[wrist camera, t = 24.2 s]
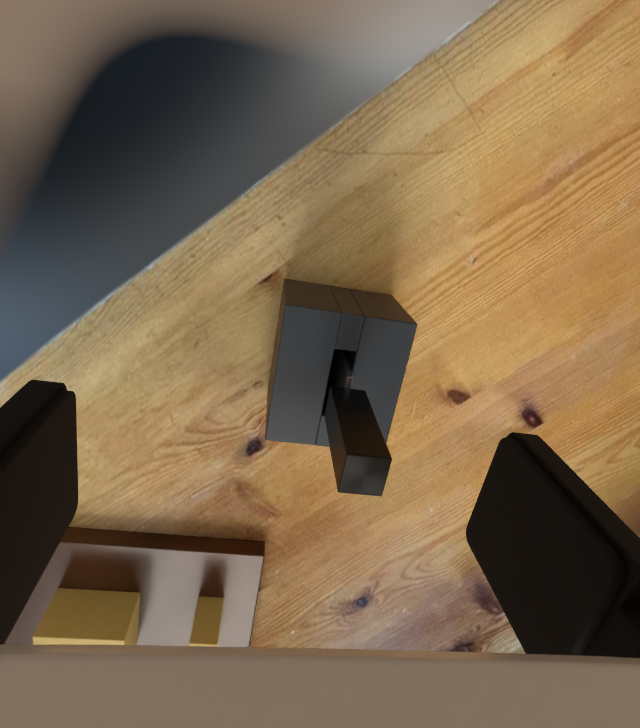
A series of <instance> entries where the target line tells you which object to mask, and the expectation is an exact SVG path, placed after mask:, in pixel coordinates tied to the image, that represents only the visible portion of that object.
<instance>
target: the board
mask: <svg viewBox="0 0 640 728" xmlns="http://www.w3.org/2000/svg"><path fill="white" fill-rule="evenodd" d="M264 553H265V542H258V541H245V540H231V539H218V538H204V537H191V536H178V535H164V534H151V533H137V532H124V531H111V530H97V529H84V528H70V527H68V528H67V530H66V532H65V534H64V536H63V538H62V539H61V541H60V543H59V545H58V547H57V549H56V550H55V552H54V554H53V556H52V558H51V560H50V561H49V563H48V565H47V567H46V569H45V571H44V572H43V574H42V576H41V578H40V580H39V582H38V583H37V585H36V587H35V589H34V591H33V593H32V594H31V596H30V598H29V600H28V602H27V604H26V605H25V607H24V609H23V611H22V613H21V615H20V616H19V618H18V620H17V622H16V624H15V626H14V627H13V629H12V631H11V633H10V635H9V637H8V638H7V640H6V642H5V644H4V645H33V635H34V633H35V631H36V629H37V627H38V625H39V623H40V622H41V620H42V618H43V616H44V614H45V612H46V610H47V608H48V606H49V604H50V603H51V601H52V599H53V597H54V595H55V593H56V591H57V589H58V588H67V589H85V590H102V591H120V592H137V593H140V612H139V638H138V641H137V644H136V645H157V646H189V642H190V637H191V632H192V626H193V621H194V616H195V611H196V605H197V600H198V597H199V596H206V597H223V598H224V602H223V609H222V617H221V625H220V632H219V640H218V647H249V645H250V639H251V633H252V627H253V621H254V615H255V609H256V603H257V597H258V591H259V585H260V579H261V573H262V567H263V561H264Z"/></svg>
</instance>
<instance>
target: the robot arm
mask: <svg viewBox="0 0 640 728" xmlns="http://www.w3.org/2000/svg"><path fill="white" fill-rule="evenodd" d="M77 505H78V469H77V427H76V396H75V393H74V392H73V391H67V389H66V386H65V384H64V383H57V382H48V381H39V380H31V381H29V382H28V383H27V384H26V385H24V386H23V387H22V388H21V389H20V390H19V391H18V392H17V393H16V394H15V395H14V396H13V397H11V398H10V399H9V400H8V401H7V402H6V403H5V404H4V405H3V406H2V407H1V408H0V728H640V538H639V537H638V536H637V535H636V534H635V533H634V532H633V531H632V530H631V529H630V528H629V527H628V526H627V525H626V524H625V523H624V522H623V521H622V520H621V519H620V518H619V517H618V516H617V515H616V514H615V513H614V512H613V511H612V510H611V509H610V508H609V507H608V506H607V505H606V504H605V503H604V502H603V501H602V500H601V499H600V498H599V497H598V496H597V495H596V494H595V493H594V492H593V491H592V490H591V489H590V488H589V487H588V485H587V484H586V483H585V482H584V481H583V480H582V479H581V478H580V477H579V476H578V475H577V474H576V473H575V472H574V471H573V470H572V469H571V468H570V467H569V466H568V465H567V464H566V463H565V462H564V461H563V460H562V459H561V458H560V457H559V456H558V455H557V454H556V453H555V452H554V451H553V450H552V449H551V448H550V447H549V446H548V445H547V444H546V443H545V442H544V441H543V440H542V439H541V438H540V437H539V436H537V435H532V434H523V433H514V432H513V433H510V434H509V435H508V436H507V437H506V438H502V439H501V440H500V442H499V444H498V447H497V449H496V452H495V455H494V457H493V460H492V463H491V465H490V468H489V470H488V473H487V476H486V478H485V481H484V483H483V486H482V489H481V491H480V494H479V496H478V499H477V502H476V504H475V507H474V509H473V512H472V515H471V517H470V520H469V522H468V525H467V529H466V537H467V541H468V544H469V546H470V548H471V550H472V552H473V553H474V555H475V557H476V559H477V561H478V563H479V565H480V567H481V569H482V571H483V573H484V575H485V576H486V578H487V580H488V582H489V584H490V586H491V588H492V590H493V592H494V594H495V596H496V597H497V599H498V601H499V603H500V605H501V607H502V609H503V611H504V613H505V615H506V617H507V618H508V620H509V622H510V624H511V626H512V628H513V630H514V632H515V634H516V636H517V638H518V640H519V641H520V643H521V645H522V647H523V649H524V651H525V653H526V654H512V653H479V652H442V651H402V650H360V649H316V648H270V647H214V646H157V645H4V644H5V642H6V640H7V638H8V637H9V635H10V633H11V631H12V629H13V627H14V626H15V624H16V622H17V620H18V618H19V616H20V615H21V613H22V611H23V609H24V607H25V605H26V604H27V602H28V600H29V598H30V596H31V594H32V593H33V591H34V589H35V587H36V585H37V583H38V582H39V580H40V578H41V576H42V574H43V572H44V571H45V569H46V567H47V565H48V563H49V561H50V560H51V558H52V556H53V554H54V552H55V550H56V549H57V547H58V545H59V543H60V541H61V539H62V538H63V536H64V534H65V532H66V530H67V528H68V527H69V525H70V523H71V521H72V519H73V517H74V515H75V512H76V509H77Z"/></svg>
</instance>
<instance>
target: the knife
mask: <svg viewBox="0 0 640 728" xmlns="http://www.w3.org/2000/svg"><path fill="white" fill-rule="evenodd" d="M352 381H353V376H352V373H351V370H350V367H349V364H348V362H347V359H346V356H345V353H344V350H342V349H335V348H334V353H333V358H332V363H331V368H330V373H329V378H328V383H327V388H328V393H329V396H328V401H327V406H326V411H325V416H324V418H325V423H326V429H327V434H328V440H329V445H330V451H331V456H332V462H333V467H334V472H335V478H336V483H337V489H338V492H341V493H351V494H362V495H373V496H382V493H383V490H384V486H385V482H386V479H387V475H388V471H389V468H390V464H391V461H392V458H391V455H390V453H389V450H388V448H387V445H386V442H385V440H384V437H383V435H382V432H381V430H380V427H379V424H378V422H377V419H376V417H375V414H374V412H373V409H372V406H371V404H370V401H369V399H368V396H367V394H366V391H365V390H358V389H351V385H352Z"/></svg>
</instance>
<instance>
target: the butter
mask: <svg viewBox="0 0 640 728" xmlns="http://www.w3.org/2000/svg"><path fill="white" fill-rule="evenodd" d="M139 612H140V593H137V592H120V591H102V590H85V589H67V588H58V589H57V591H56V593H55V595H54V597H53V599H52V601H51V603H50V604H49V606H48V608H47V610H46V612H45V614H44V616H43V618H42V620H41V622H40V623H39V625H38V627H37V629H36V631H35V633H34V635H33V645H136V644H137V641H138V638H139Z"/></svg>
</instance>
